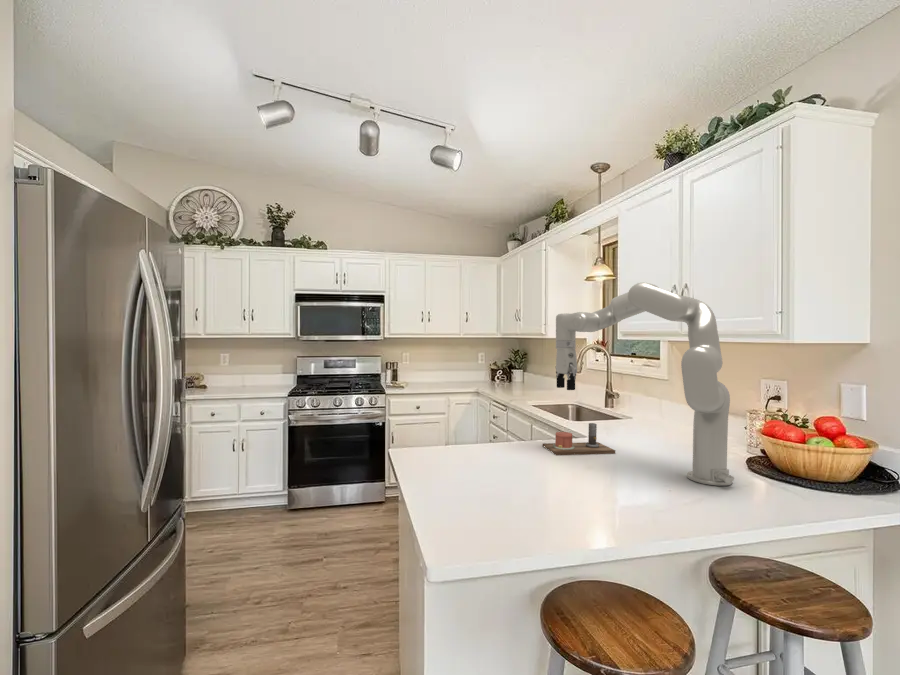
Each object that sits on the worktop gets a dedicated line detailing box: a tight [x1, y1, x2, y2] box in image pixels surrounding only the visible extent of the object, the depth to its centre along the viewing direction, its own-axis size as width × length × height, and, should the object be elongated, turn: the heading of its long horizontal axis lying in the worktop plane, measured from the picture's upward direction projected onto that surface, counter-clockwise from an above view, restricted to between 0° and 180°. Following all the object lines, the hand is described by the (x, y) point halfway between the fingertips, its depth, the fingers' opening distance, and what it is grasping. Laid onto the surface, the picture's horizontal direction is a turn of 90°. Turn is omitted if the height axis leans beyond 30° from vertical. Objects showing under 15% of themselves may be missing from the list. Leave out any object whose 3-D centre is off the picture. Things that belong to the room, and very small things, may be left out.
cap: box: [554, 431, 573, 448], centre depth 182 cm, size 8×6×5 cm
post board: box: [542, 422, 616, 456], centre depth 183 cm, size 14×24×10 cm, turn 100°
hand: (565, 388), depth 182 cm, fingers open, 9 cm apart
